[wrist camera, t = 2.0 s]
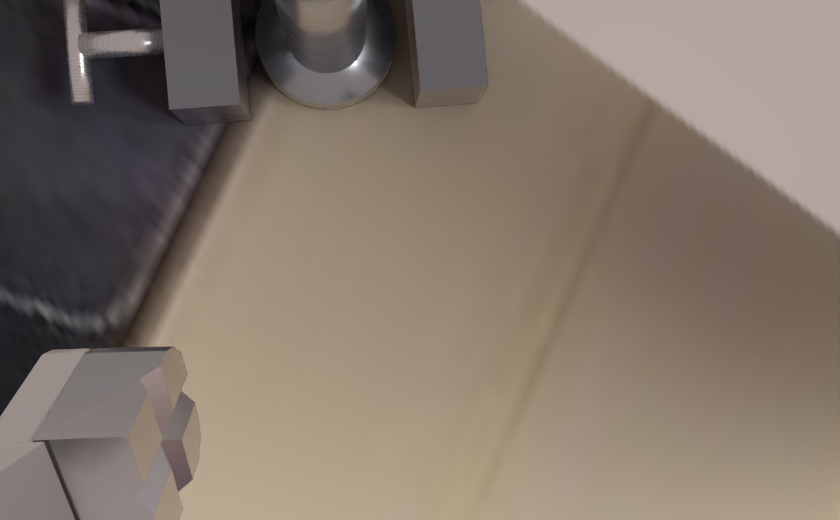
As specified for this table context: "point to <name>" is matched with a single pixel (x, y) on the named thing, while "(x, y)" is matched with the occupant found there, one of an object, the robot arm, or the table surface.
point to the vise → (226, 67)
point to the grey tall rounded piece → (326, 49)
